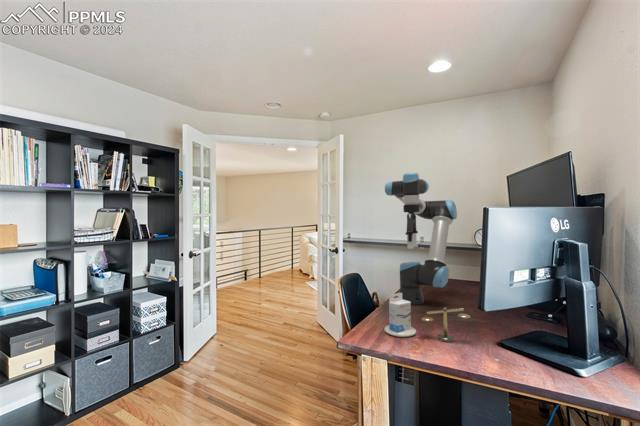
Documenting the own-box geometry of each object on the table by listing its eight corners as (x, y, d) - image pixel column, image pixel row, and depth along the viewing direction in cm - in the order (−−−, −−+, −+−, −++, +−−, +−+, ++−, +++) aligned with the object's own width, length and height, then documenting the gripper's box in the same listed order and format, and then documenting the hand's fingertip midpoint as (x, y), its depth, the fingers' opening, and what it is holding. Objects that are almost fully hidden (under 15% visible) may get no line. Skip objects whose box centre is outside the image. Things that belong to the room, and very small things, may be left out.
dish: (387, 325, 137) (387, 322, 137) (417, 329, 132) (417, 326, 132) (381, 335, 125) (381, 332, 125) (414, 340, 120) (414, 337, 120)
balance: (422, 333, 127) (422, 302, 127) (470, 339, 120) (469, 307, 120) (421, 338, 121) (420, 306, 122) (471, 345, 114) (470, 311, 115)
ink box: (397, 333, 125) (397, 297, 125) (388, 329, 129) (388, 295, 129) (411, 328, 129) (410, 294, 130) (402, 325, 133) (401, 292, 134)
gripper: (406, 205, 162) (407, 244, 161) (399, 203, 139) (400, 249, 139) (421, 205, 159) (422, 245, 158) (416, 202, 136) (417, 249, 136)
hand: (412, 247), depth 148 cm, fingers open, 13 cm apart
